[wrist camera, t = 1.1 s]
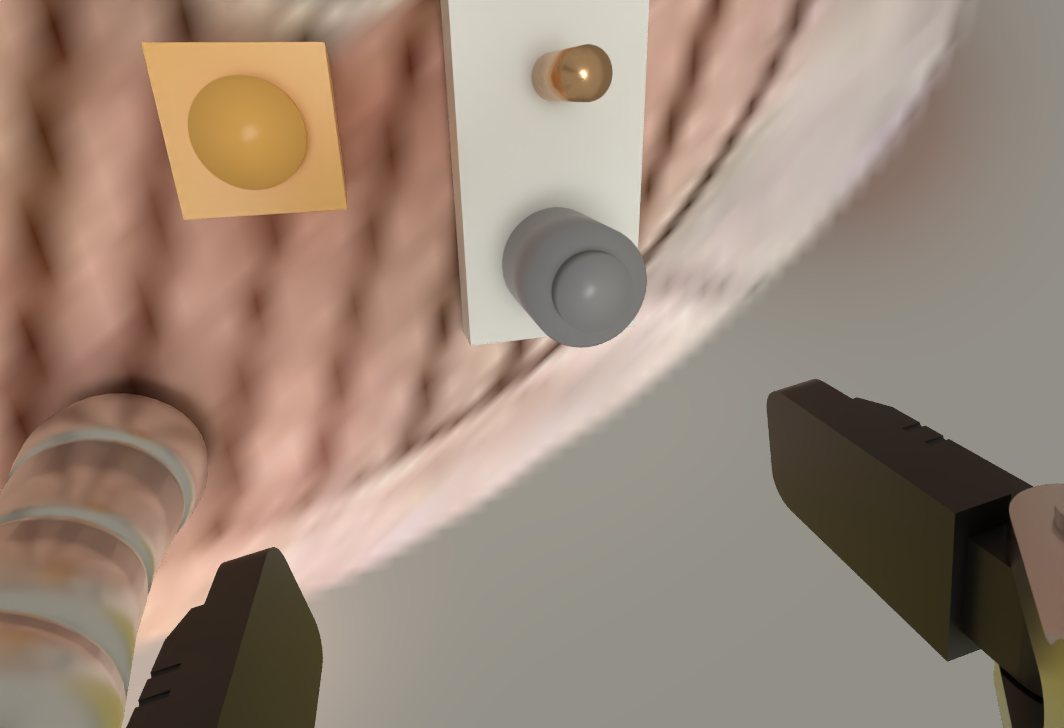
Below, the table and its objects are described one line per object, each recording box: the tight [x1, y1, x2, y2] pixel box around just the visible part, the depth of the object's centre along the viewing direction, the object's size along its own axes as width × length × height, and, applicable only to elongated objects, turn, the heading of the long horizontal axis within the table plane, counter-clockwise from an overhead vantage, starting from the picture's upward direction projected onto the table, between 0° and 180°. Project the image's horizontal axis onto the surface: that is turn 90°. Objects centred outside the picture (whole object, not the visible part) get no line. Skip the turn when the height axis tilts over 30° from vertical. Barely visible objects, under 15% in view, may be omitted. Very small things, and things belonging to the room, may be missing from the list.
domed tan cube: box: [141, 42, 347, 220], centre depth 22 cm, size 5×5×7 cm
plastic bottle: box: [0, 393, 207, 728], centre depth 19 cm, size 6×7×20 cm
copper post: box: [531, 44, 613, 102], centre depth 23 cm, size 2×2×4 cm
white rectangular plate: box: [440, 0, 649, 346], centre depth 27 cm, size 8×14×2 cm, turn 1°
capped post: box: [502, 207, 647, 347], centre depth 26 cm, size 5×5×5 cm
